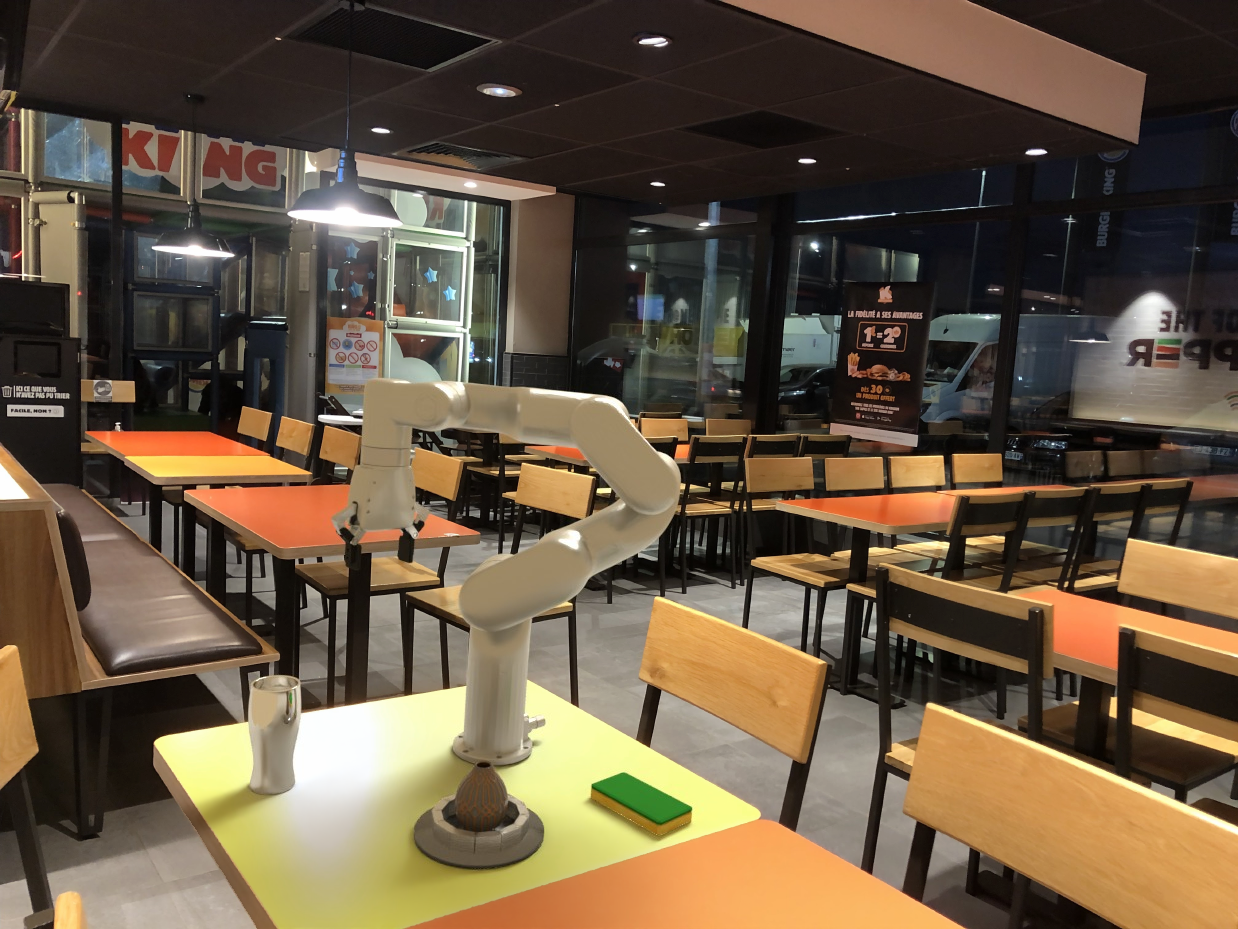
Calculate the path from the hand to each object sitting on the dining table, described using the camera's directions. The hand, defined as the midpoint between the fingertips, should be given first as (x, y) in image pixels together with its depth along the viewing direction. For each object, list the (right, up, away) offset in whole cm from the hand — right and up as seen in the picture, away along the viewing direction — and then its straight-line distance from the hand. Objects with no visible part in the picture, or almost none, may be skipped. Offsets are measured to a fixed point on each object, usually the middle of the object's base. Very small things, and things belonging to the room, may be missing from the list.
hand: (379, 564), depth 146 cm
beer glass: (-11, -30, -15) cm, 35 cm away
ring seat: (+19, -33, -24) cm, 45 cm away
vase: (+19, -32, -24) cm, 45 cm away
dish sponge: (+41, -34, -14) cm, 55 cm away
